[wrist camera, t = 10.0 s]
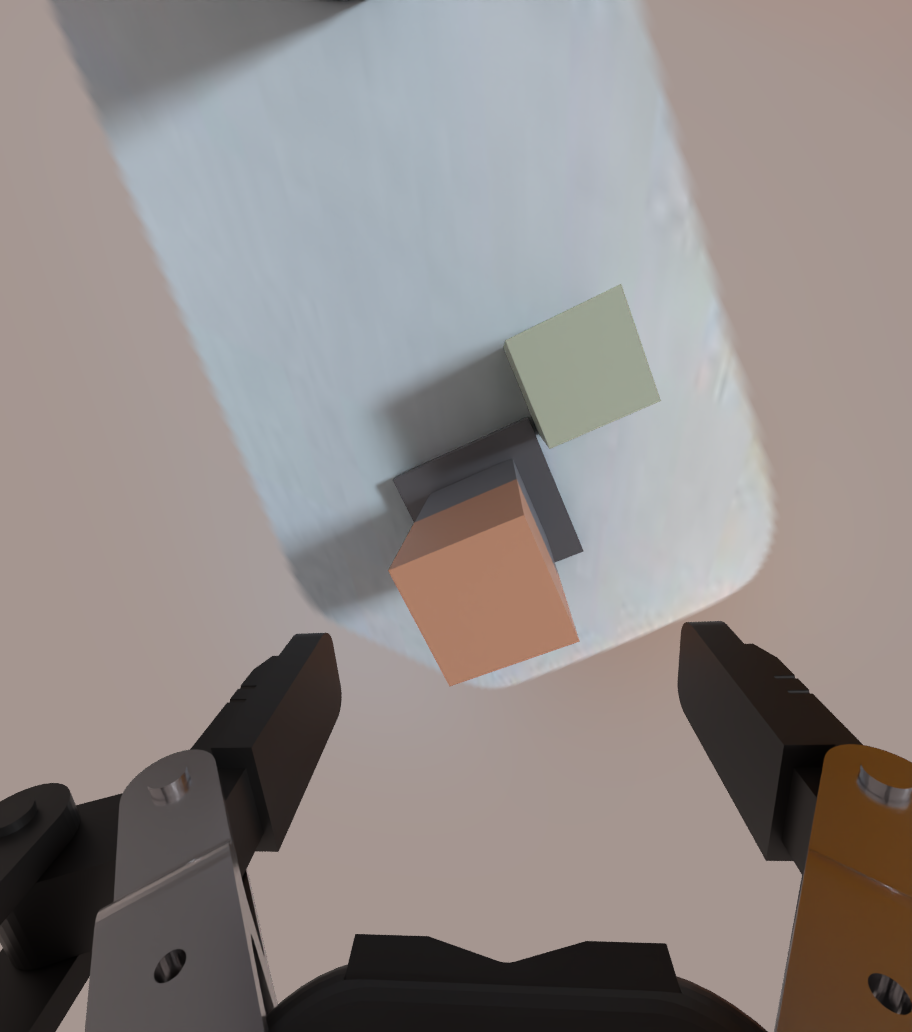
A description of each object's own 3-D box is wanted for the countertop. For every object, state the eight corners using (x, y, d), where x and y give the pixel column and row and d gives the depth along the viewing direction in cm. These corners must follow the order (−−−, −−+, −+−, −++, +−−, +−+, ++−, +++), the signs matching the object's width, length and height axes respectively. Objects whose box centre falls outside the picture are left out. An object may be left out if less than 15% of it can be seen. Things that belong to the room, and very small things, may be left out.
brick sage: (503, 347, 27) (505, 340, 22) (593, 303, 26) (621, 283, 21) (538, 434, 29) (549, 448, 23) (626, 395, 28) (660, 400, 22)
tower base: (396, 476, 30) (367, 505, 23) (527, 416, 28) (537, 429, 22) (455, 594, 32) (444, 652, 25) (580, 545, 30) (604, 593, 24)
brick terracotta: (414, 522, 23) (388, 570, 18) (516, 478, 22) (523, 514, 17) (460, 614, 25) (449, 686, 19) (558, 576, 24) (579, 641, 18)
